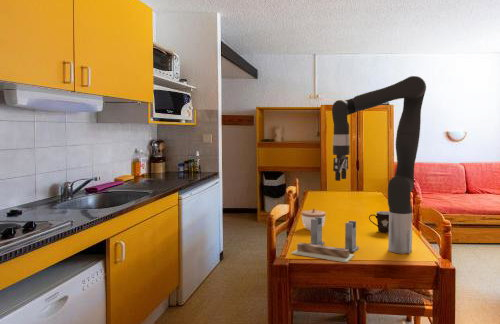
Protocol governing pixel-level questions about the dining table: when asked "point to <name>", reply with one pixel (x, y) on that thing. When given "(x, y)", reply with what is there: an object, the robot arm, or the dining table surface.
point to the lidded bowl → (312, 217)
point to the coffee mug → (382, 221)
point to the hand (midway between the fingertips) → (340, 179)
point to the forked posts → (349, 234)
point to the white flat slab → (323, 256)
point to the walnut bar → (323, 250)
